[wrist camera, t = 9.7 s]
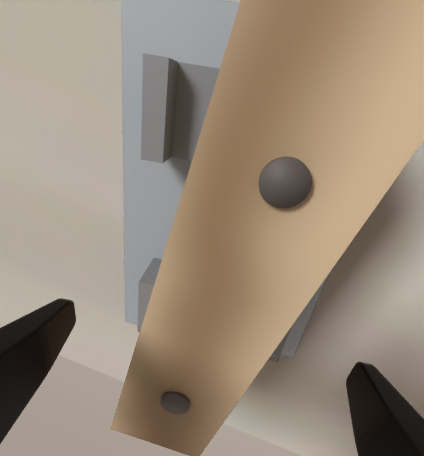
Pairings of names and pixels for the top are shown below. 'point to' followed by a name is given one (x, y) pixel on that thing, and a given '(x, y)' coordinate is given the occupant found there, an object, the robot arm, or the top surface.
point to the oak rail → (272, 199)
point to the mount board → (169, 130)
